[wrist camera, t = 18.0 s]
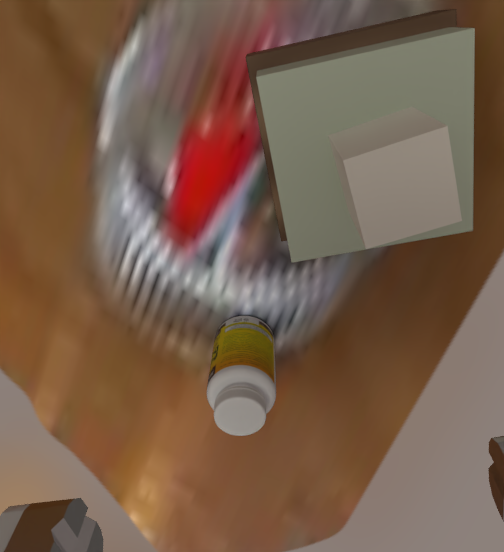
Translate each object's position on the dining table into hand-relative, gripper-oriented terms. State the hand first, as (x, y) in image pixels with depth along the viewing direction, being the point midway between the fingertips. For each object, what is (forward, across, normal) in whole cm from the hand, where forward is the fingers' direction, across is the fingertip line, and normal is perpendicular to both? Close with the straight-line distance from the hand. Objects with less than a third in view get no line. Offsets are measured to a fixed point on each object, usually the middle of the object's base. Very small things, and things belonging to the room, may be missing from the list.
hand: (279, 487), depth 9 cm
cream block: (+23, -7, +1) cm, 24 cm away
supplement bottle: (+30, +6, +17) cm, 35 cm away
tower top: (+27, -6, +1) cm, 27 cm away
